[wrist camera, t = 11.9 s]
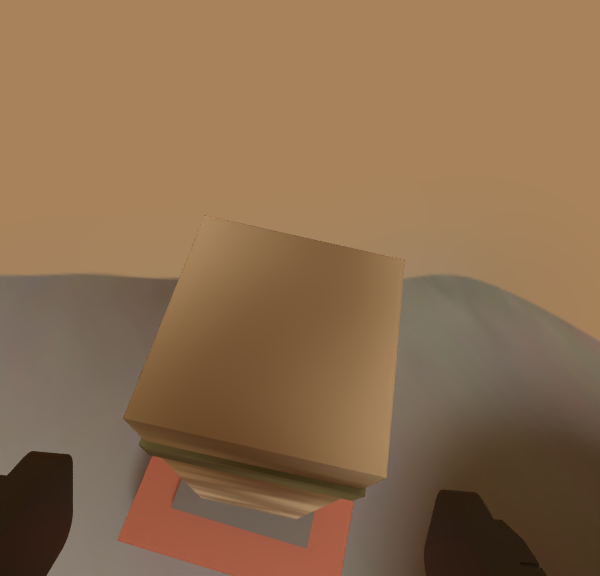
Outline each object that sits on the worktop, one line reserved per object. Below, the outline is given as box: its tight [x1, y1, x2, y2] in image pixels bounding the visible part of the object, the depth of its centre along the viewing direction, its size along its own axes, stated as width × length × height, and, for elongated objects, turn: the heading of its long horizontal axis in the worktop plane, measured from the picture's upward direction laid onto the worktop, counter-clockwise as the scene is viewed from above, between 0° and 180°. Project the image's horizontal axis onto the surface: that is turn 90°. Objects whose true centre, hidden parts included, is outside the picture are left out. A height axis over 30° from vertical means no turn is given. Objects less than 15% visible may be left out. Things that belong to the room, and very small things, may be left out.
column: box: [123, 215, 405, 519], centre depth 15 cm, size 5×5×15 cm
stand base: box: [117, 456, 354, 576], centre depth 23 cm, size 10×10×3 cm
